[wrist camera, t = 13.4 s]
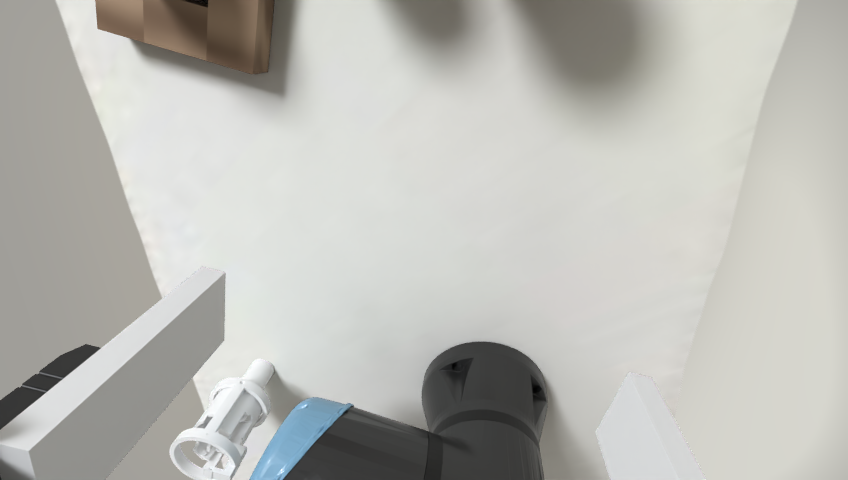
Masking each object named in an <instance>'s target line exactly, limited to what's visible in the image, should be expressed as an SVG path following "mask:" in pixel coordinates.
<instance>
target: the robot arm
mask: <svg viewBox="0 0 848 480" xmlns="http://www.w3.org/2000/svg"><path fill="white" fill-rule="evenodd" d="M224 321H225V272H222V271H218V270H214V269H210V268H206V267H201V268H200V269H198V270H197V271H196V272H195V273H193V274H192V275H191V276H190V277H189V278H187V279H186V280H185V281H184V282H182V283H181V284H180V285H179V286H177V287H176V288H175V289H174V290H172V291H171V292H170V293H169V294H168V295H166V296H165V297H164V298H163V299H161V300H160V301H159V302H158V303H157V304H155V305H154V306H153V307H151V308H150V309H149V310H148V311H147V312H145V313H144V314H143V315H142V316H140V317H139V318H138V319H137V320H135V321H134V322H133V323H132V324H130V325H129V326H128V327H127V328H126V329H124V330H123V331H122V332H121V333H119V334H118V335H117V336H116V337H114V338H113V339H112V340H111V341H110V342H108V343H107V344H106V345H105V346H103V347H102V348H99V347H95V346H91V345H87V344H85V345H83V346H81V347H79V348H76V349H74V350H72V351H70V352H67V353H65V354H63V355H61V356H59V357H58V358H56V359H55V360H54V361H53V362H51V363H50V364H48V365H47V366H46V367H45V368H43V369H42V370H41V371H40V372H39V374H35V375H34V376H32V377H31V378H30V379H28V380H27V381H26V382H24V383H23V384H22V386H21V387H20V388H19V387H18V388H16V389H15V390H14V391H12V392H11V393H10V394H8V395H7V396H6V397H4V398H3V399H2V400H0V480H105V479H106V478H107V477H108V476H109V475H110V473H111V472H112V471H113V470H114V469H115V468H116V467H117V465H118V464H119V463H120V462H121V461H122V459H123V458H124V457H125V456H126V455H127V454H128V452H129V451H130V450H131V449H132V448H133V446H134V445H135V444H136V443H137V442H138V440H139V439H140V438H141V437H142V436H143V435H144V434H145V432H146V431H147V430H148V429H149V428H150V426H151V425H152V424H153V423H154V422H155V421H156V420H157V418H158V417H159V416H160V415H161V414H162V413H163V411H164V410H165V409H166V408H167V407H168V405H169V404H170V403H171V402H172V401H173V399H174V398H175V397H176V396H177V395H178V394H179V393H180V391H181V390H182V389H183V388H184V387H185V385H186V384H187V383H188V382H189V381H190V380H191V378H192V377H193V376H194V375H195V374H196V373H197V371H198V370H199V369H200V368H201V367H202V366H203V364H204V363H205V362H206V361H207V360H208V359H209V357H210V356H211V355H212V354H213V353H214V351H215V350H216V349H217V348H218V347H219V346H220V344H221V343H222V342H223V341H224ZM547 403H548V400H547V392H546V387H545V382H544V379H543V376H542V374H541V372H540V370H539V369H538V367H537V366H536V365H535V363H534V362H533V361H532V360H531V359H529V358H528V357H527V356H526V355H524V354H523V353H521V352H519V351H517V350H515V349H513V348H511V347H508V346H505V345H502V344H498V343H491V342H471V343H465V344H461V345H458V346H455V347H452V348H450V349H448V350H446V351H444V352H443V353H441V354H440V355H439V356H438V357H436V358H435V359H434V360H433V361H432V363H431V364H430V365H429V367H428V369H427V371H426V373H425V376H424V381H423V388H422V405H423V410H424V413H425V417H426V421H427V425H428V429H429V432H428V431H426V430H423V429H419V428H416V427H413V426H410V425H407V424H404V423H401V422H397V421H394V420H391V419H388V418H385V417H382V416H379V415H376V414H373V413H370V412H367V411H364V410H361V409H358V408H355V407H354V405H353V404H350V403H348V404H342V403H338V402H334V401H330V400H326V399H323V398H318V397H313V398H308V399H306V400H304V401H302V402H301V403H299V404H298V405H297V406H296V407H295V408H294V409H293V410H292V411H291V412H290V414H289V415H288V416H287V417H286V419H285V420H284V422H283V423H282V424H281V426H280V427H279V429H278V430H277V432H276V433H275V435H274V437H273V438H272V440H271V441H270V443H269V445H268V446H267V448H266V450H265V452H264V453H263V455H262V457H261V459H260V460H259V462H258V464H257V466H256V468H255V470H254V472H253V474H252V475H251V477H250V479H249V480H544V474H543V468H542V461H541V455H540V448H539V441H540V437H541V433H542V429H543V424H544V420H545V416H546V412H547ZM595 433H596V436H597V439H598V442H599V446H600V449H601V452H602V455H603V458H604V462H605V465H606V468H607V471H608V475H609V478H610V480H707V479H706V477H705V475H704V473H703V471H702V469H701V468H700V466H699V464H698V462H697V460H696V458H695V456H694V454H693V453H692V451H691V449H690V447H689V445H688V443H687V441H686V440H685V438H684V436H683V434H682V432H681V430H680V428H679V426H678V424H677V423H676V421H675V419H674V417H673V415H672V413H671V411H670V410H669V408H668V406H667V404H666V402H665V400H664V398H663V396H662V395H661V393H660V391H659V389H658V387H657V385H656V383H655V381H654V380H653V378H652V377H648V376H644V375H640V374H636V373H632V372H628V374H627V376H626V378H625V380H624V381H623V383H622V385H621V387H620V389H619V390H618V392H617V394H616V396H615V398H614V399H613V401H612V403H611V405H610V407H609V409H608V410H607V412H606V414H605V416H604V418H603V419H602V421H601V423H600V425H599V427H598V428H597V430H596V432H595Z"/></svg>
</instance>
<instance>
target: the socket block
mask: <svg viewBox="0 0 848 480" xmlns="http://www.w3.org/2000/svg"><path fill="white" fill-rule="evenodd" d="M95 1H96V14H97V28H98V29H100V30H103V31H107V32H110V33H114V34H117V35H120V36H124V37H127V38H130V39H134V40H137V41H141V42H144V43H147V44H151V45H154V46H158V47H161V48H164V49H168V50H171V51H175V52H178V53H181V54H185V55H188V56H192V57H195V58H198V59H202V60H205V61H208V62H212V63H215V64H219V65H222V66H225V67H229V68H232V69H236V70H239V71H242V72H246V73H249V74H259V73H264V72H268V64H269V53H270V42H271V31H272V20H273V10H274V0H208V4H205V3H202V2H198V1H195V0H95Z"/></svg>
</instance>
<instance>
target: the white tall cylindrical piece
mask: <svg viewBox="0 0 848 480" xmlns="http://www.w3.org/2000/svg"><path fill="white" fill-rule="evenodd" d="M273 373H274V367H273V365H272V364H271V363H270V362H269V361H267V360H264V359H256V360H254V361H253V363H252V364H251V366H250V367H249V369H248V370H247V371H246V373H245V374H244V376H243V377H242V378H236V377H231V378H226V379H223V380H221V381H220V382H218V383H217V385H216V386H215V387H214V389H213V390H212V391H211V393H210V395H209V404H210V405H209V407H208V408H207V410H206V411H205V412H204V414H203V415H202V416H201V418H200V419H199V420H198V422H197V423H196V425H195V426H194V428H191V429H187V430H184V431H183V432H181V433H180V434H179V435H178V437H177V438H176V439H175V441H174V442H173V443H172V445H171V447H170V457H171V460H172V462H173V463H174V464H175V466H176V467H177V468H178V469H179V470H180V471H181V472H183V473H184V474H185V475H187V476H188V477H190V478H192V479H195V480H232V478H233V476H234V475H235V473H236V471H237V469H238V468H239V466H240V463H241V462H242V460H243V458H244V456H245V454H246V452H247V447H246V446H243V444H244V443H245V441H246V439H247V437H248V436H249V434H250V432H251V430H252V429H253V428H254V427H257V426H259V425H261V424H262V423H263V422H264V421H265V419H266V417H267V415H268V414H269V412H270V408H271V403H270V400H269V397H268V396H267V394H266V393H265V391H264V388H265V386H266V385H267V383H268V381H269V380H270V378H271V377H272V375H273ZM220 389H221V390H220ZM218 390H220V392H219V393H218ZM262 411H263V414H262V415H261V413H262ZM260 415H261V416H260ZM189 440H195V441H196V445H195V446H194V448H193V449H192V450H193V452H195V454H197V455H198V456H199V457H200V459H204V460H207V462H206V464H205V465H204V467H203V468H201V467H199V466H197V465H195V464H194V463H192V462H191V461H190V460H189V459H188V458H187V457H186V456H185V455H184V453H183V451H182V449H181V442H184V441H189ZM224 454H225V456H226V457H227V458H228V460H229V462H228V463H227V465H226V467H225V469H224V470H223V469H220V468H216V466H217V465H218V463H219V462H220V460H221V458H222V457H223V455H224Z"/></svg>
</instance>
